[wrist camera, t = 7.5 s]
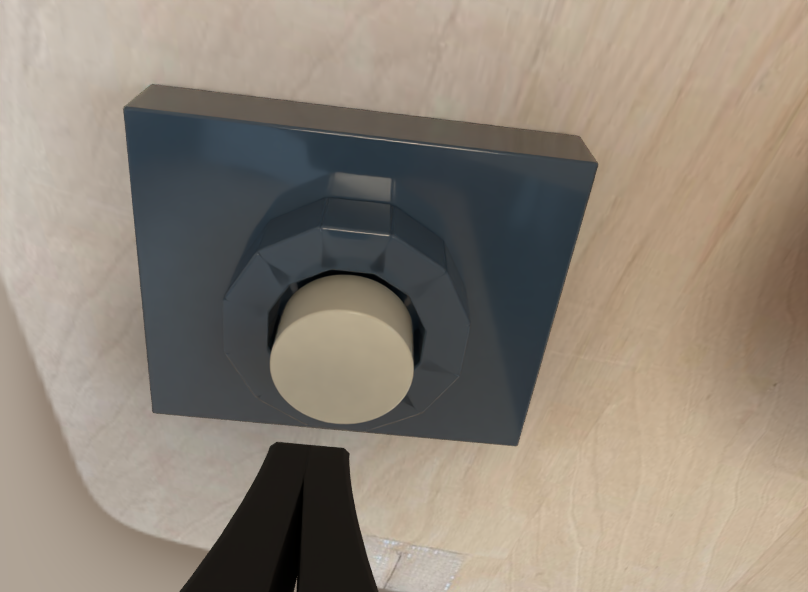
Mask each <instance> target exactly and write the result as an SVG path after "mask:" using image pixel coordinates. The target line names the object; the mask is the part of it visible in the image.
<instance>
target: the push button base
mask: <svg viewBox="0 0 808 592" xmlns="http://www.w3.org/2000/svg"><path fill="white" fill-rule="evenodd" d="M123 110H124V121H125V131H126V142H127V152H128V162H129V173H130V183H131V194H132V204H133V214H134V225H135V235H136V246H137V256H138V266H139V277H140V287H141V298H142V308H143V318H144V329H145V339H146V350H147V360H148V370H149V381H150V391H151V402H152V411H153V413H155V414H166V415H177V416H188V417H199V418H210V419H221V420H232V421H243V422H254V423H265V424H276V425H287V426H298V427H309V428H320V429H331V430H342V431H353V432H364V433H375V434H386V435H397V436H408V437H419V438H430V439H441V440H452V441H463V442H474V443H485V444H496V445H507V446H517V445H518V443H519V439H520V436H521V432H522V429H523V425H524V422H525V418H526V415H527V411H528V408H529V405H530V401H531V398H532V394H533V391H534V387H535V384H536V380H537V377H538V373H539V370H540V366H541V363H542V359H543V356H544V352H545V349H546V345H547V342H548V338H549V335H550V331H551V328H552V325H553V321H554V318H555V314H556V311H557V307H558V304H559V300H560V297H561V293H562V290H563V286H564V283H565V279H566V276H567V272H568V269H569V265H570V262H571V258H572V255H573V252H574V248H575V245H576V241H577V238H578V234H579V231H580V227H581V224H582V220H583V217H584V213H585V210H586V206H587V203H588V199H589V196H590V192H591V189H592V185H593V182H594V179H595V175H596V172H597V168H598V162H597V161H596V159H595V158H594V156H593V155H592V153H591V152H590V151H589V149H588V148H587V146H586V145H585V143H584V142H583V140H582V139H581V137H579V136H574V135H566V134H557V133H549V132H541V131H533V130H525V129H516V128H508V127H500V126H492V125H483V124H475V123H467V122H459V121H450V120H442V119H434V118H426V117H417V116H409V115H401V114H393V113H385V112H376V111H368V110H360V109H352V108H343V107H335V106H327V105H319V104H310V103H302V102H294V101H286V100H278V99H269V98H261V97H253V96H245V95H236V94H228V93H220V92H212V91H203V90H195V89H187V88H179V87H171V86H162V85H154V84H152V85H150V86H149V87H147V88H146V89H145V90H144V91H143V92H141V93H140V94H139V95H138V96H136V97H135V98H134V99H133V100H132V101H130V102H129V103H128V104H127V105H125V106H124V108H123ZM342 274H345V275H356V276H362V277H365V278H369V279H372V280H374V281H376V282H379V283H380V284H382V285H384V286H386V287H387V288H388V289H390V290H391V291H393V292H394V293H395V294H396V295H397V296H398V297H399V298H400V300H401V301H402V302H403V303H404V305H405V306H406V308H407V310H408V312H409V314H410V317H411V320H412V324H413V345H414V375H413V380H412V384H411V386H410V388H409V391H408V392H407V394H406V395H405V397H404V398H403V399H402V401H401V402H400V403H399V404H398V405H397V406H396V407H395V408H393V409H392V410H391V411H389V412H388V413H386V414H384V415H382V416H380V417H378V418H376V419H373V420H370V421H366V422H362V423H355V424H335V423H328V422H324V421H320V420H317V419H314V418H311V417H309V416H307V415H305V414H303V413H301V412H300V411H298V410H296V409H295V408H294V407H292V406H291V405H290V404H289V403H288V402H287V401H286V400H285V399H284V398H283V397H282V396H281V394H280V393H279V392H278V390H277V388H276V386H275V384H274V382H273V379H272V377H271V372H270V354H271V351H272V347H273V344H274V340H275V336H276V333H277V329H278V326H279V322H280V319H281V315H282V311H283V309H284V307H285V305H286V303H287V302H288V300H289V299H290V298H291V297H292V295H293V294H294V293H295V292H296V291H298V290H299V289H300V288H301V287H303V286H305V285H306V284H308V283H310V282H312V281H314V280H316V279H319V278H322V277H326V276H331V275H342Z"/></svg>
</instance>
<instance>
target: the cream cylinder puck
mask: <svg viewBox="0 0 808 592" xmlns="http://www.w3.org/2000/svg"><path fill="white" fill-rule="evenodd" d="M270 372H271V377H272V379H273V382H274V384H275V386H276V388H277V390H278V392H279V393H280V394H281V396H282V397H283V398H284V399H285V400H286V401H287V402H288V403H289V404H290V405H291V406H292V407H294V408H295V409H296V410H298V411H300V412H301V413H303V414H305V415H307V416H309V417H311V418H314V419H317V420H320V421H324V422H328V423H335V424H355V423H362V422H366V421H370V420H373V419H376V418H378V417H380V416H382V415H384V414H386V413H388V412H389V411H391V410H392V409H393V408H395V407H396V406H397V405H398V404H399V403H400V402H401V401H402V399H403V398H404V397H405V395H406V394H407V392H408V391H409V388H410V386H411V384H412V380H413V375H414V345H413V324H412V320H411V317H410V314H409V312H408V310H407V308H406V306H405V305H404V303H403V302H402V301H401V300H400V298H399V297H398V296H397V295H396V294H395V293H394V292H393V291H391V290H390V289H388V288H387V287H386V286H384V285H382V284H380V283H379V282H376V281H374V280H372V279H369V278H365V277H362V276H356V275H345V274H342V275H331V276H326V277H322V278H319V279H316V280H314V281H312V282H310V283H308V284H306V285H305V286H303V287H301V288H300V289H299V290H298V291H296V292H295V293H294V294H293V295H292V297H291V298H290V299H289V300H288V302H287V303H286V305H285V307H284V309H283V311H282V315H281V319H280V322H279V326H278V329H277V333H276V336H275V340H274V344H273V347H272V351H271V354H270Z"/></svg>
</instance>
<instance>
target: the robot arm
mask: <svg viewBox="0 0 808 592" xmlns="http://www.w3.org/2000/svg"><path fill="white" fill-rule="evenodd" d="M349 454H350V453H349V452H348V451H347V450H346V449H345V448H338V447H327V446H316V445H305V444H293V443H282V442H276V443H274V444H273V445H271V446H270V448H269V451H268V453H267V456H266V458H265V460H264V462H263V464H262V466H261V468H260V470H259V472H258V474H257V476H256V478H255V480H254V482H253V484H252V485H251V487H250V489H249V491H248V492H247V494H246V496H245V498H244V499H243V501H242V503H241V504H240V506H239V507H238V509H237V511H236V512H235V514H234V515H233V517H232V518H231V520H230V522H229V523H228V525H227V526H226V528H225V529H224V531H223V533H222V534H221V536H220V537H219V538H218V540H217V541H216V543H215V544H214V546H213V547H212V548H211V550H210V551H209V553H208V554H207V555H206V557H205V558H204V559H203V561H202V562H201V564H200V565H199V566H198V568H197V569H196V571H195V572H194V573H193V575H192V576H191V577H190V579H189V580H188V581H187V583H186V584H185V585H184V586H183V588H182V589H181V590H180V592H294V588H295V584H296V580H297V592H378V589H377V586H376V583H375V580H374V577H373V574H372V571H371V567H370V564H369V561H368V557H367V554H366V550H365V546H364V542H363V539H362V535H361V531H360V527H359V523H358V519H357V514H356V510H355V504H354V499H353V493H352V487H351V479H350V466H349Z"/></svg>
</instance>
